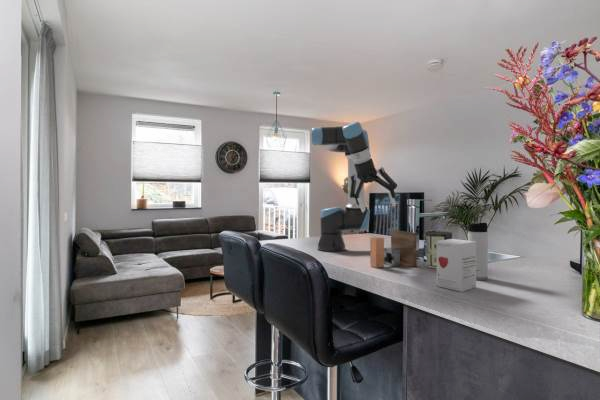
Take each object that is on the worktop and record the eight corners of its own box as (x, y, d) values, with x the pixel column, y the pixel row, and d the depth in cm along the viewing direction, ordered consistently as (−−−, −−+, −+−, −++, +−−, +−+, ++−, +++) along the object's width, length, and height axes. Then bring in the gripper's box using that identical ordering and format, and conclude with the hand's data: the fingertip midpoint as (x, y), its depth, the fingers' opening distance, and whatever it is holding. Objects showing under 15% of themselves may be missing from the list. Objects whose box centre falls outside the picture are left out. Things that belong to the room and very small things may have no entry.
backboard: (407, 267, 147) (406, 233, 147) (385, 262, 160) (385, 230, 160) (416, 266, 149) (416, 233, 149) (394, 261, 162) (394, 230, 162)
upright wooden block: (376, 267, 147) (375, 238, 147) (370, 266, 151) (370, 237, 151) (402, 264, 153) (402, 236, 152) (396, 263, 156) (396, 235, 156)
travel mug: (476, 281, 124) (475, 223, 123) (464, 276, 130) (464, 221, 130) (492, 280, 125) (492, 222, 124) (480, 276, 131) (479, 221, 131)
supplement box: (435, 286, 117) (435, 240, 117) (451, 282, 123) (450, 238, 123) (461, 292, 110) (461, 243, 110) (477, 287, 115) (477, 240, 115)
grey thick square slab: (394, 267, 149) (394, 250, 149) (384, 264, 155) (383, 248, 155) (400, 266, 150) (399, 249, 150) (389, 263, 156) (389, 247, 156)
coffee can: (446, 263, 155) (446, 231, 154) (456, 268, 144) (456, 233, 144) (422, 264, 155) (422, 231, 155) (430, 269, 144) (430, 234, 144)
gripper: (332, 170, 149) (348, 216, 154) (389, 155, 135) (406, 206, 140) (339, 165, 155) (354, 209, 160) (394, 150, 141) (410, 199, 146)
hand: (378, 208), depth 150 cm, fingers open, 13 cm apart
